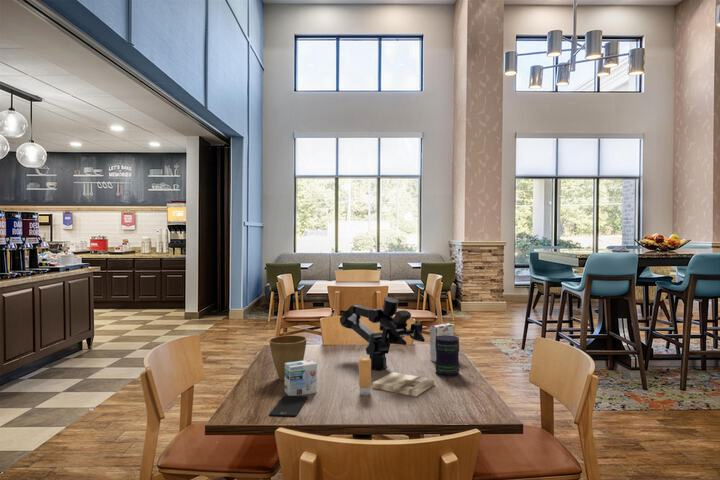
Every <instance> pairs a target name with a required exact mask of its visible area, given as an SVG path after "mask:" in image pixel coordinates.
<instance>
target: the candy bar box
mask: <svg viewBox="0 0 720 480" xmlns="http://www.w3.org/2000/svg"><path fill="white" fill-rule="evenodd" d="M444 335H447V336H455V324H454V323H453V324H452V323H449V322H447V323H440V324H433V325H429V340H430V341H429V342H430V343H429V347H430V349H429V350H430V356H429V357H430V361H431V362H433V363H436V349H435V348H436V347H435V343H436V337H437V336H444Z"/></svg>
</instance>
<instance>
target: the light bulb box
mask: <svg viewBox="0 0 720 480" xmlns="http://www.w3.org/2000/svg"><path fill="white" fill-rule="evenodd" d="M317 369H318V363H316V362H315V361H313V360H312V359H306V360H305V359H303V361H296V362H289V363H285V381H284V393H286V395H287V396H306V395H310V394H317V393H318V391H317V388H318V386H317V384H318V381H317V380H318V379H317V378H318V377H317V376H318V375H317V374H318V370H317Z"/></svg>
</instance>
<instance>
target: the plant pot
mask: <svg viewBox="0 0 720 480" xmlns="http://www.w3.org/2000/svg"><path fill="white" fill-rule="evenodd" d="M268 341H269V347H270V352H271V359H272V362H273V365H274V368H275V371H276V373H277V377H278V378H279V380H280V381H284V382H285V363H289V362H296V361H304V360H305V353H306V347H307V346H306V345H307V337H306V336H303V335H297V334H296V335H295V334H291V335H289V334H288V335H280V336H275V337H272V338H270V339H269V340H268Z"/></svg>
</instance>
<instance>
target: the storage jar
mask: <svg viewBox="0 0 720 480" xmlns="http://www.w3.org/2000/svg"><path fill="white" fill-rule="evenodd" d="M435 347H436V348H435V349H436V362H435V363H434V364H435V375H436V376H439V377H442V378H456V377H459V375H460V359H459V352H460V338H459V337H458V336H455V335H454V336H447V335H444V336H437V337H436V343H435Z"/></svg>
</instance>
